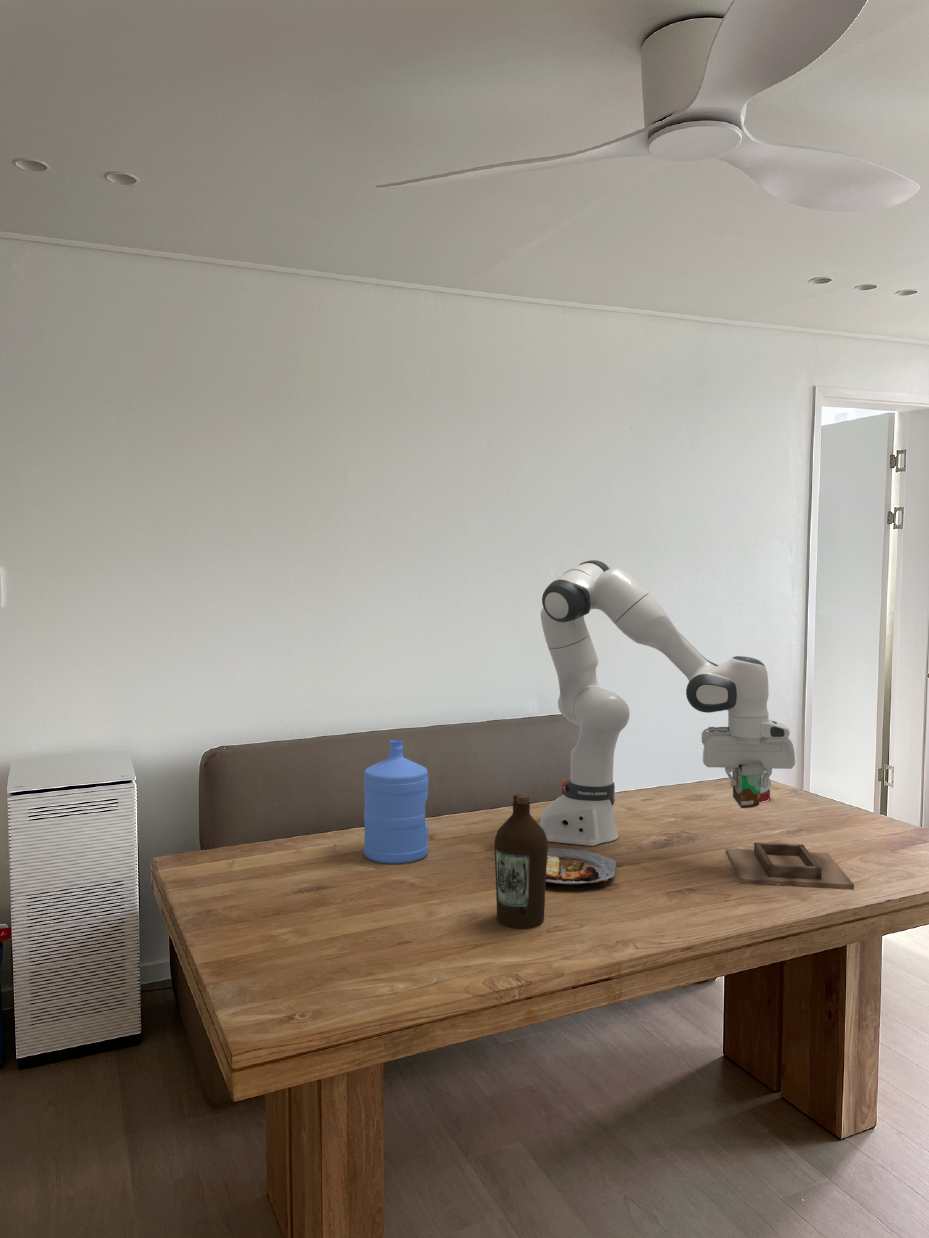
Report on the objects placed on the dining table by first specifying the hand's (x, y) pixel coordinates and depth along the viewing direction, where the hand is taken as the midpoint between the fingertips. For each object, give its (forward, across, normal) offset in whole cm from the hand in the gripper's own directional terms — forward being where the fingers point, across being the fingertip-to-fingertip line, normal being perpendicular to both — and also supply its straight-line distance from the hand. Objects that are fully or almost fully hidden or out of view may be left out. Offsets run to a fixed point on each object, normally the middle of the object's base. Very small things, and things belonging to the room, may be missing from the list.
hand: (748, 786), depth 207 cm
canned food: (+22, +11, +68) cm, 72 cm away
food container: (+4, 0, 0) cm, 4 cm away
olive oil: (+18, -49, -39) cm, 65 cm away
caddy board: (+20, +9, +2) cm, 22 cm away
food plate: (+19, -42, -10) cm, 47 cm away
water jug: (+18, -83, -4) cm, 85 cm away
